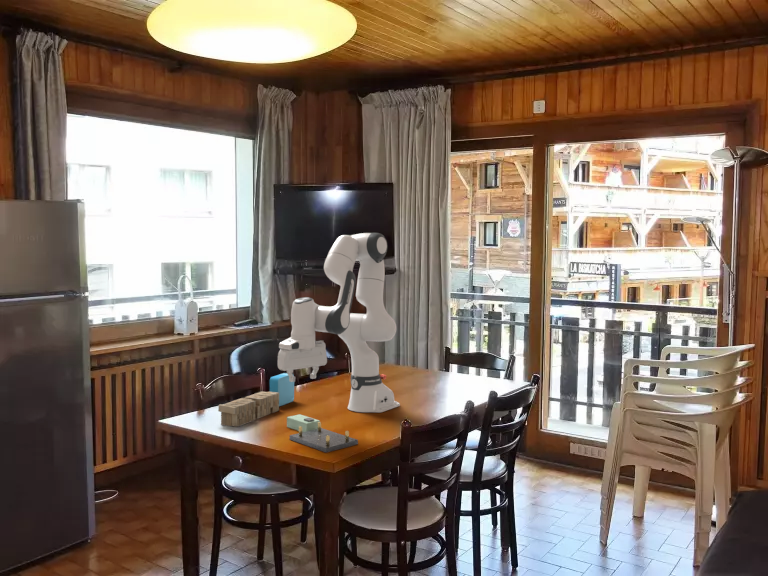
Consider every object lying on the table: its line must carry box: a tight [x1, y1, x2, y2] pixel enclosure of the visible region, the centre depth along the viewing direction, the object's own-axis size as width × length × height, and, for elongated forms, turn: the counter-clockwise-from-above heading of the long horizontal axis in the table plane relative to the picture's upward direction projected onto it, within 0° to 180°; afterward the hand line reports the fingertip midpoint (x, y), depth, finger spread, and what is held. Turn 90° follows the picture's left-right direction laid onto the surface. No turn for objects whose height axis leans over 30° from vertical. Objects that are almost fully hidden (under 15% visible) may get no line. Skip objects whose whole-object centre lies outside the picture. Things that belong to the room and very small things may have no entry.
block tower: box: [217, 391, 280, 427], centre depth 277 cm, size 8×8×29 cm
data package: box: [269, 372, 295, 407], centre depth 300 cm, size 12×4×12 cm, turn 155°
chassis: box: [289, 421, 359, 453], centre depth 245 cm, size 14×20×4 cm
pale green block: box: [286, 414, 321, 432], centre depth 262 cm, size 6×12×5 cm, turn 44°
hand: (302, 380), depth 260 cm, fingers open, 8 cm apart
